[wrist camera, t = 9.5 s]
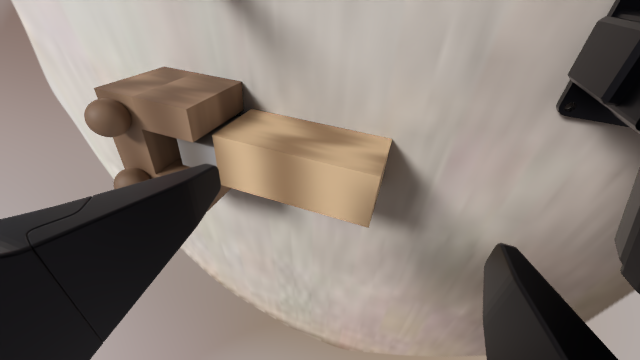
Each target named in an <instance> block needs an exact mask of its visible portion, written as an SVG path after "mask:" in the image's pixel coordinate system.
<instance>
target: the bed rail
mask: <svg viewBox="0 0 640 360" xmlns="http://www.w3.org/2000/svg"><path fill="white" fill-rule="evenodd" d="M177 142H178V147H179V151H180V155H181V159H182V163H183V165H186V166H189V167H195V166H198V165H201V164H205V163H207V164H211V165H215V166H217V167H218V169H219V174H220V181H221V185H222V186H226V187H229V188H233V189H236V190H240V191H243V192H247V193H250V194H254V195H257V196H261V197H264V198H267V199H271V200H274V201H278V202H281V203H285V204H288V205H292V206H295V207H299V208H302V209H306V210H309V211H313V212H316V213H319V214H323V215H326V216H330V217H333V218H337V219H340V220H344V221H347V222H351V223H354V224H358V225H361V226H365V227H368V228H369V224H370V221H371V217H372V214H373V211H374V207H375V204H376V200H377V197H378V193H379V190H380V187H381V183H382V179H383V175H384V171H385V166H386V162H387V158H388V154H389V150H390V146H391V142H392V139H389V138H385V137H380V136H375V135H371V134H366V133H361V132H357V131H352V130H347V129H343V128H338V127H333V126H329V125H324V124H320V123H315V122H310V121H306V120H301V119H296V118H292V117H287V116H282V115H278V114H273V113H268V112H264V111H259V110H254V109H251V110H249V111H248V112H246V113H245V114H243V115H242V116H240V117H238V116H233V117H232V118H230V119H229V120H227V121H226V122H224V123H223V124H221V125H219V126H218V127H216V128H215V129H213V130H212V131H210V132H209V133H207V134H206V135H204V136H202V137H201V138H199V139H198V140H196V141H195V142H189V141H185V140H181V139H177Z"/></svg>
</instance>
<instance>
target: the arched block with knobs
mask: <svg viewBox="0 0 640 360" xmlns="http://www.w3.org/2000/svg"><path fill="white" fill-rule="evenodd" d="M94 90H95V92H96V95H97V97H98V99H97V100H95V101H93V102H91V103H90V104H89V105H88V106H87V108H86V110H85V114H84V117H85V121H86V124H87V125H88V127H89V128H90V129H91V130H92V131H94V132H95V133H97V134H99V135H101V136H105V137H113V139H114V142H115V144H116V147H117V150H118V152H119V155H120V157H121V160H122V163H123V165H124V168H125V169H124V170H122V171H121V172H119V173H118V174H117V176H116V177H115V179H114V189H118V188H121V187H125V186H128V185H132V184H135V183H139V182H142V181H146V180H149V179H153V178H156V177H160V176H163V175H167V174H170V173H174V172H177V171H181V170H184V169H188V168H191V167H189V166H186V165H183V163H182V159H181V155H180V151H179V147H178V142H177V139H181V140H185V141H189V142H195V141H196V140H198V139H199V138H201V137H202V136H204V135H206V134H207V133H209V132H210V131H212V130H213V129H215V128H216V127H218V126H219V125H221V124H223V123H224V122H226V121H227V120H229V119H230V118H232V117H233V116H235V115H236V114H238V113H240V112H241V111H243V110H244V107H243V95H242V83H241V82H240V81H235V80H230V79H225V78H220V77H214V76H209V75H204V74H199V73H194V72H188V71H183V70H178V69H173V68H168V67H162V68H159V69H155V70H152V71H149V72H146V73H142V74H139V75H136V76H132V77H129V78H126V79H123V80H119V81H116V82H113V83H109V84H106V85H103V86H100V87H96V88H94ZM230 189H231V188H229V187H226V186H222V185H221V189H220V192H219V193H218V195H217V196H216V198H215V200H214V201H213V203H212V204H211V206H210V207H209V209H210V208H211V207H212V206H213V205H214V204H215V203H216V202H218V201H219V200H220V199H221V198H222V197H223V196H224V195H225V194H226V193H227V192H228V191H229V190H230ZM209 209H208V210H209ZM208 210H207V211H208Z"/></svg>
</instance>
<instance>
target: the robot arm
mask: <svg viewBox="0 0 640 360" xmlns="http://www.w3.org/2000/svg"><path fill="white" fill-rule="evenodd" d="M568 76H569V78H570V81H569V83H568V85H567V87H566V88H565V90H564V92H563V94H562V96H561V97H560V99H559V101H558V103H557V105H556V108H557V110H558V111H559V112H560V114H561V115H564V116H568V117H574V118H580V119H586V120H591V121H597V122H603V123H609V124H615V125H620V126H626V127H630V128H632V129H633V130H634V131H636V132H637V133H638V134H640V0H616V1H615V2H614V4H613V6H612V8H611V9H610V11H609V13H608V15H607V16H606V17H604V18H602V19H601V20H599V21H598V22H597V23H596V25H595V27H594V29H593V30H592V32H591V34H590V36H589V37H588V39H587V41H586V43H585V45H584V46H583V48H582V50H581V52H580V54H579V55H578V57H577V59H576V61H575V63H574V64H573V66H572V68H571V70H570V71H569V73H568ZM570 102H574V105H573V106H572V107H571V108H569V109H564V107H565V105H566V104H568V103H570ZM220 189H221V181H220V174H219V169H218V167H217V166H215V165H211V164H207V163H205V164H201V165H198V166H195V167H191V168H188V169H184V170H181V171H177V172H174V173H170V174H167V175H163V176H160V177H156V178H153V179H149V180H146V181H142V182H139V183H135V184H132V185H128V186H125V187H121V188H118V189H114V190H111V191H107V192H104V193H100V194H97V195H94V196H93V197H91V196H90V197H86V198H83V199H79V200H76V201H72V202H68V203H65V204H61V205H58V206H54V207H50V208H46V209H42V210H38V211H34V212H30V213H25V214H21V215H17V216H12V217H8V218H4V219H0V360H90V359H91V358H92V356H93V355H94V354H95V353H96V351H97V350H98V349H99V348H100V346H101V345H102V344H103V342H104V341H105V340H106V339H107V337H108V336H109V335H110V334H111V332H112V331H113V330H114V329H115V327H116V326H117V325H118V324H119V323H120V321H121V320H122V319H123V318H124V316H125V315H126V314H127V313H128V311H129V310H130V309H131V308H132V306H133V305H134V304H135V303H136V301H137V300H138V299H139V298H140V297H141V295H142V294H143V293H144V292H145V290H146V289H147V288H148V287H149V285H150V284H151V283H152V282H153V280H154V279H155V278H156V277H157V275H158V274H159V273H160V272H161V270H162V269H163V268H164V267H165V265H166V264H167V263H168V262H169V261H170V259H171V258H172V257H173V256H174V254H175V253H176V252H177V251H178V249H179V248H180V247H181V246H182V244H183V243H184V242H185V241H186V239H187V238H188V237H189V236H190V234H191V233H192V232H193V231H194V229H195V228H196V227H197V225H198V224H199V223H200V221H201V220H202V218H203V217H204V215H205V214H206V212H207V210H208V209H209V207H210V206H211V204H212V203H213V201H214V200H215V198H216V196H217V195H218V193H219V192H220ZM615 244H616V247H617V251H618V255H619V259H620V261H621V262H622V264H623V265H622V267H621V270H620V271H621V274H622V275H623V276H624V277H625V279H626V280H627V281H628V282H629V283H630V284H631V286H632V287H633V288H634V289H635V290H636V291H637V292H638V293H639V294H640V168H639V171H638V174H637V177H636V179H635V182H634V185H633V188H632V191H631V194H630V197H629V200H628V202H627V205H626V208H625V211H624V214H623V217H622V220H621V223H620V225H619V228H618V231H617V234H616V237H615ZM483 327H484V337H485V347H486V356H487V360H618V359H617V358H616V357H615V356H614V355H613V354H612V352H611V351H610V350H609V349H608V348H607V347H606V346H605V345H604V343H603V342H602V341H601V340H600V339H599V338H598V337H597V336H596V335H595V334H594V332H593V331H592V330H591V329H590V328H589V327H588V326H587V325H586V324H585V323H584V321H583V320H582V319H581V318H580V317H579V316H578V315H577V314H576V313H575V312H574V310H573V309H572V308H571V307H570V306H569V305H568V304H567V303H566V302H565V301H564V299H563V298H562V297H561V296H560V295H559V294H558V293H557V292H556V291H555V290H554V288H553V287H552V286H551V285H550V284H549V283H548V282H547V281H546V280H545V279H544V277H543V276H542V275H541V274H540V273H539V272H538V271H537V270H536V269H535V268H534V266H533V265H532V264H531V263H530V262H529V261H528V260H527V259H526V258H525V257H524V255H523V254H522V253H521V252H520V251H519V250H518V249H517V248H516V247H514V246H511V245H507V244H503V243H499V244H497V245H496V246H495V248H494V249H493V251H492V253H491V254H490V256H489V257H488V259H487V261H486V263H485V266H484V288H483Z"/></svg>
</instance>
